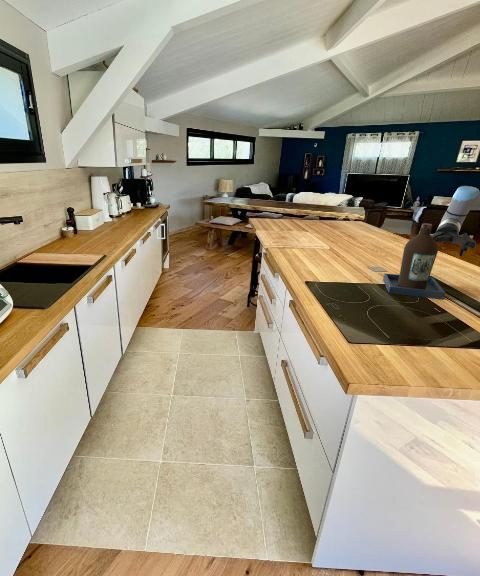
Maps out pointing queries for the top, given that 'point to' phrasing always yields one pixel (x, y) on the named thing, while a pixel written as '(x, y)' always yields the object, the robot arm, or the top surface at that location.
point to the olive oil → (418, 259)
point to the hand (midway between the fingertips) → (438, 251)
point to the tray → (430, 292)
